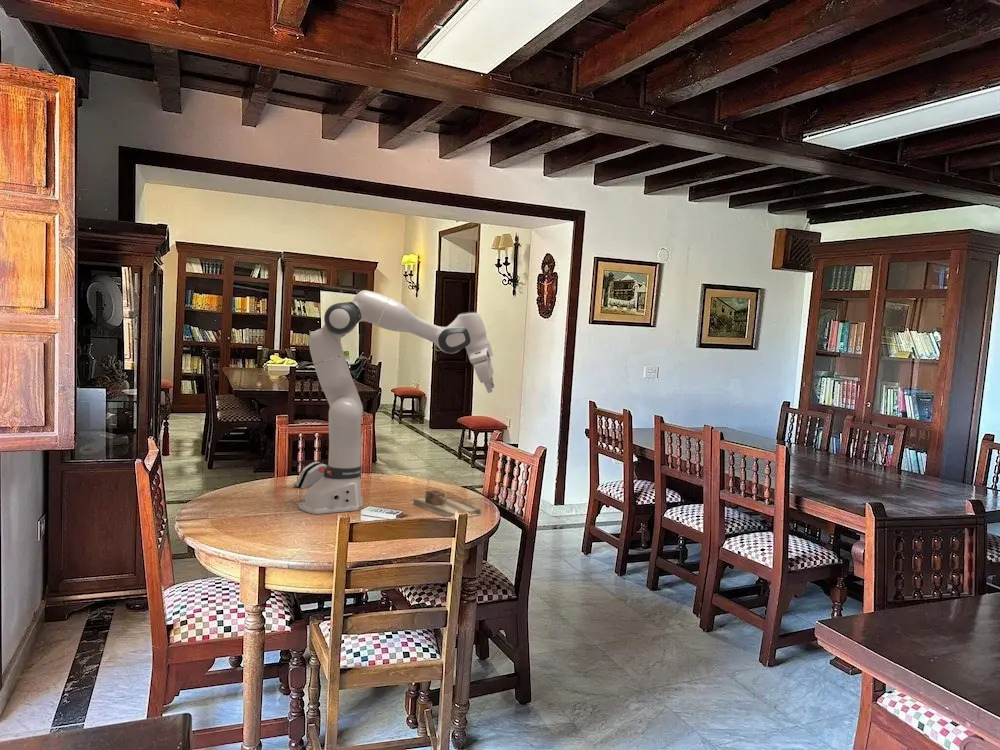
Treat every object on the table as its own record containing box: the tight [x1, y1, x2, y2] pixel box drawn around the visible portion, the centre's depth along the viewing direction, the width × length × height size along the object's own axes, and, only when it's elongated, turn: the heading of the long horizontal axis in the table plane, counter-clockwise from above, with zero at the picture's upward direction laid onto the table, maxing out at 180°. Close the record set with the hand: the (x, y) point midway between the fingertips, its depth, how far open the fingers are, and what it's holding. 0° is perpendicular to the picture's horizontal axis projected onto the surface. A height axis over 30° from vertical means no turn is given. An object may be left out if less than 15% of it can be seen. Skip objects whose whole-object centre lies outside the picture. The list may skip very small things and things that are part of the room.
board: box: [412, 496, 482, 518], centre depth 242 cm, size 12×24×2 cm, turn 42°
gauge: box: [424, 489, 448, 506], centre depth 242 cm, size 10×4×4 cm, turn 42°
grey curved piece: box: [292, 461, 328, 489], centre depth 271 cm, size 17×5×10 cm, turn 167°
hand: (491, 390), depth 249 cm, fingers open, 8 cm apart
